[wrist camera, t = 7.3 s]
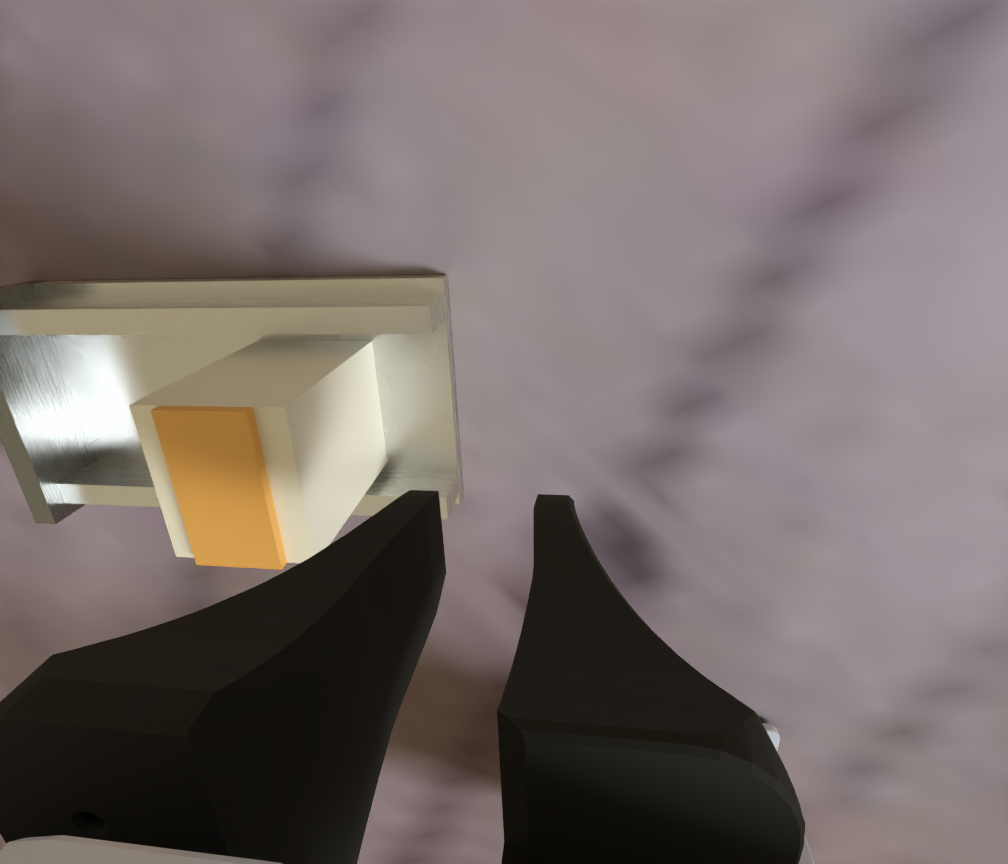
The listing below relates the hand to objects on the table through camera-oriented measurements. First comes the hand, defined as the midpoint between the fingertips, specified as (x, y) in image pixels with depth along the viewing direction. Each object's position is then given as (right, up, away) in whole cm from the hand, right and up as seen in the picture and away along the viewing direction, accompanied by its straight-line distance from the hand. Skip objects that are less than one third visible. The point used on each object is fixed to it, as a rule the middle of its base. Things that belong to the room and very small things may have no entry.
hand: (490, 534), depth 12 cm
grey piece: (-9, +4, +9) cm, 13 cm away
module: (-6, +3, +8) cm, 10 cm away
